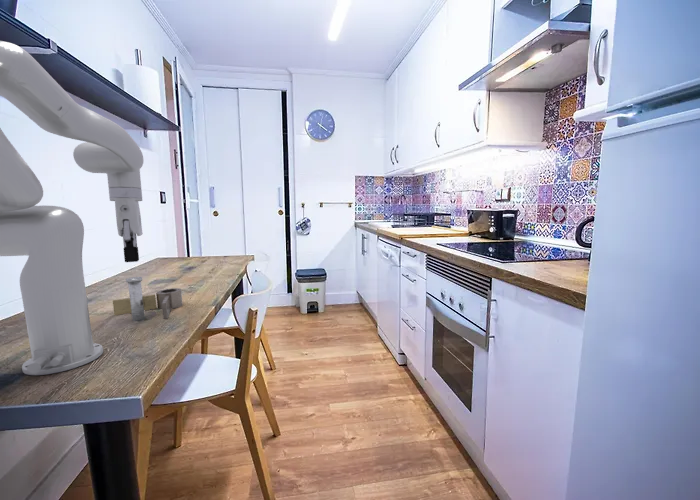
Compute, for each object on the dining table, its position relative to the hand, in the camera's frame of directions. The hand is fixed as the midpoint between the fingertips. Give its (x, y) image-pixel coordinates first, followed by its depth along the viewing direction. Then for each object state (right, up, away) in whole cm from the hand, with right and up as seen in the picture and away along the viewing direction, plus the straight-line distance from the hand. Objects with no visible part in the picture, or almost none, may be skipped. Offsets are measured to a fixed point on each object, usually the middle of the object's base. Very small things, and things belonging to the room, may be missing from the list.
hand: (132, 261), depth 92 cm
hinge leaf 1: (-4, -16, +8) cm, 18 cm away
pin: (+1, -16, +1) cm, 16 cm away
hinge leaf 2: (+6, -15, +8) cm, 18 cm away
